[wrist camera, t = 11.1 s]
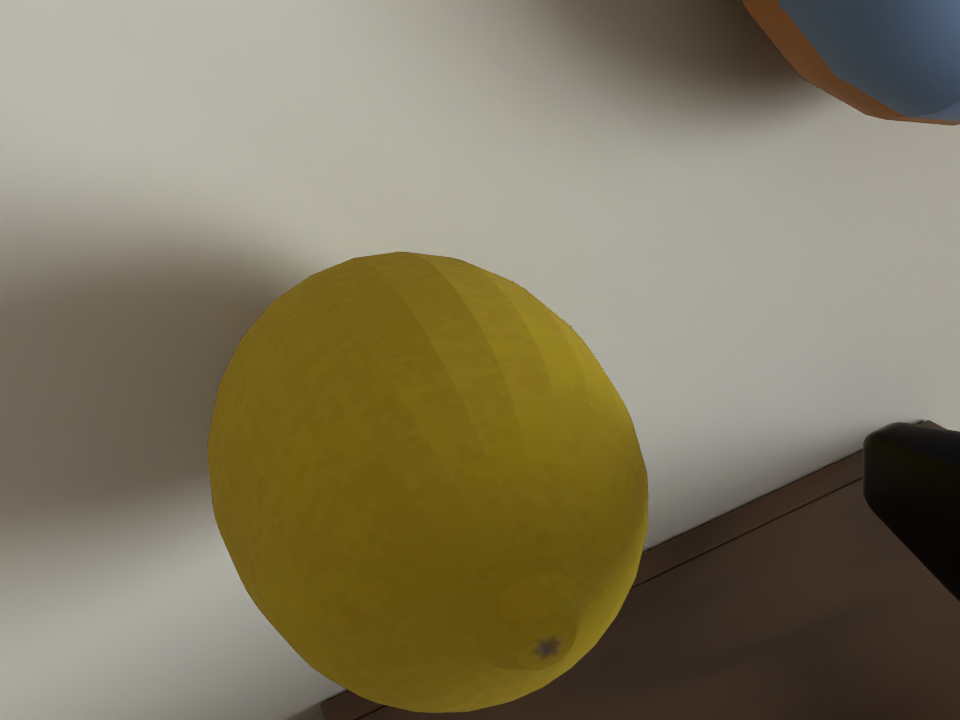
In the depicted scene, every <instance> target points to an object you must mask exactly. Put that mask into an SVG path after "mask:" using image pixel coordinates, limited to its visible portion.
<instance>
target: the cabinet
mask: <svg viewBox="0 0 960 720" xmlns="http://www.w3.org/2000/svg"><path fill="white" fill-rule="evenodd" d="M918 425H921V426H927V427H933V428H939V429H945V428H943V427H941V426H939V425H937V424H935V423H934V422H932V421H929V420H927V421H925V422H923V423H920V424H918ZM946 430H947V429H946ZM862 481H863V451H861V452H858V453H856V454H854V455H852V456H850V457H848V458H846V459H843V460H841V461H839V462H837V463H835V464H833V465H831V466H829V467H826V468H824V469H822V470H820V471H818V472H816V473H814V474H811V475H809V476H807V477H805V478H803V479H801V480H799V481H796V482H794V483H792V484H790V485H788V486H786V487H784V488H782V489H779V490H777V491H775V492H773V493H771V494H769V495H767V496H764V497H762V498H760V499H758V500H756V501H754V502H752V503H749V504H747V505H745V506H743V507H741V508H739V509H737V510H735V511H732V512H730V513H728V514H726V515H724V516H722V517H720V518H717V519H715V520H713V521H711V522H709V523H707V524H705V525H702V526H700V527H698V528H696V529H694V530H692V531H690V532H687V533H685V534H683V535H681V536H679V537H677V538H675V539H673V540H670V541H668V542H666V543H664V544H662V545H660V546H658V547H655V548H653V549H651V550H649V551H647V552H645V553H643V554H642V555H641V559H640V562H639V566H638V570H637V574H636V578H635V580H634V582H633V584H632V586H631V588H630V590H629V592H628V594H627V596H626V599H625V601H624V603H623V605H622V607H621V609H620V611H619V612H618V614H617V616H616V617H615V619H614V620H613V622H612V623H611V624H610V626H609V627H608V628H607V630H606V631H605V633H604V634H603V635H602V637H601V638H600V639H599V641H598V642H597V643H596V645H595V646H594V647H593V648H592V649H591V650H590V651H588V652H587V653H586V654H585V655H584V656H583V657H582V658H581V659H580V660H579V661H578V662H577V663H576V664H575V665H574V666H573V667H572V668H571V669H569V670H568V671H566V672H565V673H563V674H562V675H560V676H559V677H557V678H556V679H554V680H553V681H551V682H550V683H548V684H547V685H545V686H544V687H542V688H540V689H538V690H536V691H533V692H531V693H529V694H527V695H525V696H522V697H520V698H518V699H516V700H513V701H511V702H507V703H503V704H499V705H495V706H491V707H486V708H482V709H478V710H474V711H469V712H443V713H428V712H414V711H409V710H405V709H401V708H396V707H392V706H387V705H383V704H379V703H376V702H373V701H371V700H368V699H365V698H363V697H360V696H358V695H357V694H355V693H353V692H351V691H348V692H346V693H343V694H341V695H339V696H337V697H335V698H333V699H331V700H328V701H326V702H324V703H323V704H322V705H321V709H322V712H323V715H324V718H325V720H960V602H959V601H958V600H957V599H956V598H955V597H954V596H953V595H952V594H951V593H950V592H949V591H948V590H947V589H946V588H945V587H944V586H943V585H942V583H941V582H940V581H939V580H938V579H937V578H936V577H935V576H934V575H933V574H932V573H931V572H930V571H929V570H928V569H927V568H926V567H925V566H924V565H923V564H922V563H921V562H920V560H919V559H918V558H917V557H916V556H915V555H914V554H913V553H912V552H911V551H910V550H909V549H908V548H907V547H906V546H905V545H904V544H903V543H902V542H901V541H900V540H899V538H898V537H897V536H896V535H895V534H894V533H893V532H892V531H891V530H890V529H889V528H888V527H887V526H886V525H885V524H884V523H883V522H882V521H881V520H880V519H879V518H878V517H877V515H876V514H875V513H874V512H873V511H872V510H871V509H870V507H869V506H868V504H867V502H866V500H865V498H864V494H863V489H862Z"/></svg>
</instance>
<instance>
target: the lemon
mask: <svg viewBox="0 0 960 720" xmlns="http://www.w3.org/2000/svg"><path fill="white" fill-rule="evenodd" d="M208 463H209V473H210V483H211V494H212V504H213V509H214V514H215V519H216V522H217V525H218V528H219V531H220V533H221V536H222V538H223V540H224V543H225V545H226V547H227V549H228V552H229V554H230V556H231V559H232V561H233V563H234V565H235V568H236V570H237V572H238V574H239V577H240V579H241V581H242V583H243V584H244V586H245V588H246V590H247V592H248V594H249V595H250V597H251V598H252V600H253V601H254V603H255V604H256V606H257V607H258V608H259V610H260V611H261V612H262V613H263V615H264V616H265V617H266V618H267V620H268V621H269V622H270V623H271V624H272V625H273V626H274V627H275V629H276V630H277V631H278V632H279V633H280V634H281V635H282V636H283V637H284V639H285V640H286V641H287V642H288V643H289V644H290V645H291V646H292V647H293V649H294V650H295V651H296V652H297V653H298V654H299V655H300V656H301V657H302V658H303V659H304V660H305V661H306V662H307V663H308V664H309V665H310V666H311V667H313V668H314V669H316V670H317V671H318V672H320V673H321V674H323V675H324V676H325V677H327V678H329V679H330V680H332V681H334V682H336V683H337V684H339V685H341V686H343V687H344V688H346V689H348V690H350V691H351V692H353V693H355V694H357V695H358V696H360V697H363V698H365V699H368V700H371V701H373V702H376V703H379V704H383V705H387V706H392V707H396V708H401V709H405V710H409V711H414V712H428V713H443V712H469V711H474V710H478V709H482V708H486V707H491V706H495V705H499V704H503V703H507V702H511V701H513V700H516V699H518V698H520V697H522V696H525V695H527V694H529V693H531V692H533V691H536V690H538V689H540V688H542V687H544V686H545V685H547V684H548V683H550V682H551V681H553V680H554V679H556V678H557V677H559V676H560V675H562V674H563V673H565V672H566V671H568V670H569V669H571V668H572V667H573V666H574V665H575V664H576V663H577V662H578V661H579V660H580V659H581V658H582V657H583V656H584V655H585V654H586V653H587V652H588V651H590V650H591V649H592V648H593V647H594V646H595V645H596V643H597V642H598V641H599V639H600V638H601V637H602V635H603V634H604V633H605V631H606V630H607V628H608V627H609V626H610V624H611V623H612V622H613V620H614V619H615V617H616V616H617V614H618V612H619V611H620V609H621V607H622V605H623V603H624V601H625V599H626V596H627V594H628V592H629V590H630V588H631V586H632V584H633V582H634V580H635V578H636V574H637V570H638V566H639V562H640V559H641V555H642V551H643V547H644V543H645V538H646V534H647V530H648V483H647V471H646V468H645V464H644V461H643V457H642V454H641V450H640V447H639V443H638V440H637V436H636V433H635V429H634V426H633V423H632V419H631V417H630V415H629V413H628V411H627V408H626V406H625V404H624V402H623V400H622V399H621V397H620V396H619V394H618V392H617V391H616V389H615V387H614V386H613V384H612V383H611V381H610V380H609V378H608V376H607V375H606V373H605V372H604V370H603V369H602V367H601V366H600V364H599V363H598V361H597V359H596V358H595V356H594V355H593V353H592V352H591V350H590V349H589V348H588V346H587V345H586V344H585V342H584V341H583V340H582V338H581V337H580V336H579V335H578V334H577V333H576V332H575V331H574V330H573V329H572V328H571V326H569V325H568V324H567V323H566V322H565V321H563V320H562V319H561V318H560V317H559V316H557V315H556V314H555V313H554V312H553V311H551V310H550V309H549V308H548V307H546V306H545V305H544V304H543V303H542V302H540V301H539V300H538V299H537V298H535V297H534V296H533V295H532V294H530V293H529V292H528V291H527V290H526V289H524V288H522V287H521V286H519V285H518V284H516V283H514V282H513V281H510V280H508V279H506V278H503V277H501V276H499V275H496V274H494V273H491V272H489V271H486V270H484V269H481V268H479V267H477V266H474V265H472V264H469V263H467V262H464V261H462V260H459V259H454V258H450V257H443V256H434V255H426V254H418V253H410V252H394V253H387V254H380V255H373V256H366V257H358V258H353V259H350V260H348V261H345V262H343V263H340V264H338V265H335V266H333V267H330V268H328V269H325V270H323V271H321V272H318V273H316V274H313V275H311V276H309V277H308V278H306V279H305V280H304V281H302V282H301V283H299V284H298V285H297V286H295V287H294V288H292V289H291V290H289V291H288V292H287V293H285V294H284V295H282V296H281V297H280V298H278V299H277V300H275V301H274V302H273V303H272V304H271V305H270V306H269V307H268V308H267V309H266V311H265V312H264V313H263V314H262V315H261V316H260V317H259V319H258V320H257V321H256V322H255V323H254V324H253V326H252V327H251V328H250V329H249V330H248V331H247V333H246V334H245V335H244V336H243V337H242V339H241V341H240V343H239V345H238V347H237V349H236V351H235V353H234V355H233V357H232V359H231V361H230V363H229V365H228V367H227V369H226V371H225V373H224V375H223V377H222V380H221V382H220V384H219V387H218V391H217V396H216V401H215V407H214V412H213V417H212V422H211V427H210V432H209V438H208Z"/></svg>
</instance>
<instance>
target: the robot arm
mask: <svg viewBox="0 0 960 720" xmlns="http://www.w3.org/2000/svg"><path fill="white" fill-rule="evenodd" d="M862 489H863V494H864V498H865V500H866V502H867V504H868V506H869V507H870V509H871V510H872V511H873V512H874V513H875V514H876V515H877V517H878V518H879V519H880V520H881V521H882V522H883V523H884V524H885V525H886V526H887V527H888V528H889V529H890V530H891V531H892V532H893V533H894V534H895V535H896V536H897V537H898V538H899V540H900V541H901V542H902V543H903V544H904V545H905V546H906V547H907V548H908V549H909V550H910V551H911V552H912V553H913V554H914V555H915V556H916V557H917V558H918V559H919V560H920V562H921V563H922V564H923V565H924V566H925V567H926V568H927V569H928V570H929V571H930V572H931V573H932V574H933V575H934V576H935V577H936V578H937V579H938V580H939V581H940V582H941V583H942V585H943V586H944V587H945V588H946V589H947V590H948V591H949V592H950V593H951V594H952V595H953V596H954V597H955V598H956V599H957V600H958V601H959V602H960V432H958V431H952V430H946V429H939V428H933V427H927V426H921V425H914V424H908V423H901V422H898V423H892V424H889V425H887V426H885V427H883V428H881V429H879V430H876V431H874V432H872V433H870V434H869V435H868V436H867V437H866V439H865V441H864V443H863V481H862Z"/></svg>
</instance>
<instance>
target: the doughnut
mask: <svg viewBox="0 0 960 720" xmlns="http://www.w3.org/2000/svg"><path fill="white" fill-rule="evenodd" d="M743 3H744V5H745V8H746V9H747V11H748V12H749V13H750V14H751V16H752V17H753V18H754V19H755V21H756V22H757V23H758V24H759V26H760V27H761V28H762V29H763V31H764V32H765V33H766V35H767V36H768V37H769V38H770V40H771V41H772V42H773V43H774V45H775V46H776V47H777V48H778V50H779V51H780V52H781V53H782V55H783V56H784V57H785V58H786V60H787V61H788V62H789V63H790V65H791V66H792V67H793V68H794V69H795V70H796V71H797V72H798V73H799V74H800V75H801V76H802V77H803V78H804V79H805V80H806V81H808V82H810V83H812V84H813V85H815V86H817V87H819V88H820V89H822V90H824V91H826V92H827V93H829V94H831V95H832V96H834V97H836V98H838V99H839V100H841V101H843V102H845V103H846V104H848V105H850V106H852V107H853V108H855V109H857V110H859V111H860V112H862V113H864V114H865V115H869V116H874V117H878V118H882V119H886V120H896V121H907V122H919V123H930V124H942V125H958V124H960V0H743Z"/></svg>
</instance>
